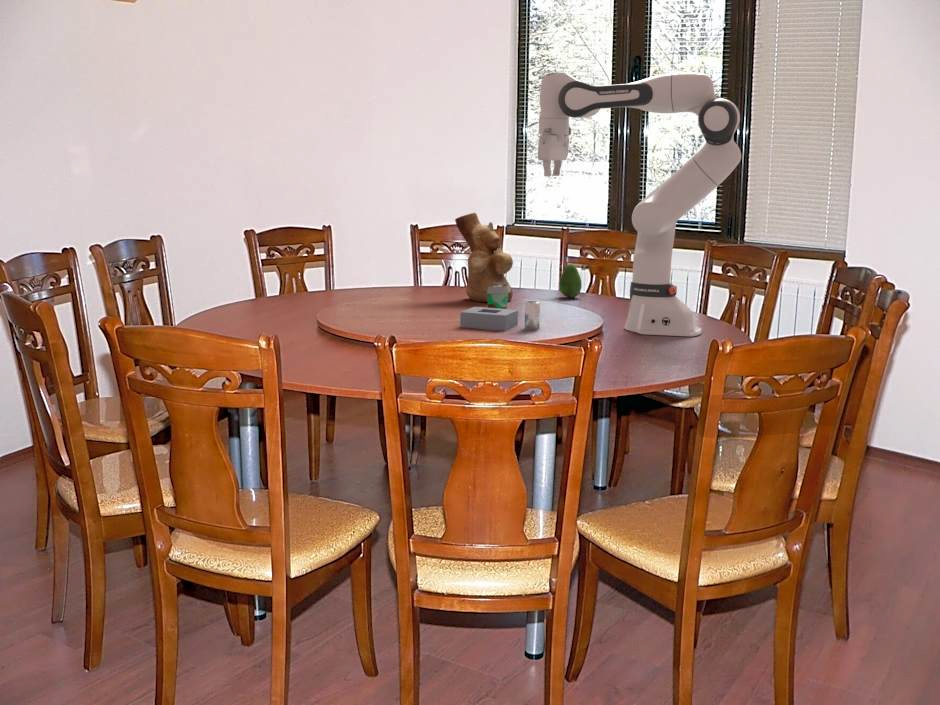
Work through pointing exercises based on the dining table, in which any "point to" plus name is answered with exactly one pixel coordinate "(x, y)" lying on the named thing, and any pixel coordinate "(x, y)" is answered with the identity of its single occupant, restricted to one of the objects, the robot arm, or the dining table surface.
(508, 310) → the slate jig
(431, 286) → the dining table surface
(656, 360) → the dining table surface
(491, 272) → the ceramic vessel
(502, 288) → the food container
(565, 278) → the avocado
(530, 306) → the cylinder
